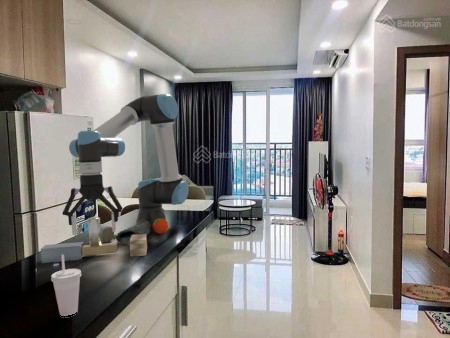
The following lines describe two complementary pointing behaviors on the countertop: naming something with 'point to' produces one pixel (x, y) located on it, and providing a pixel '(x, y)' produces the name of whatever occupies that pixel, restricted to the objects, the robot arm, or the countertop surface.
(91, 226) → the bar with upright post
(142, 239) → the socket block
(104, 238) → the ceramic mug
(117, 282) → the countertop surface
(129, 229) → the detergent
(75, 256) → the sleeve
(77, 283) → the smoothie
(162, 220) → the clementine
